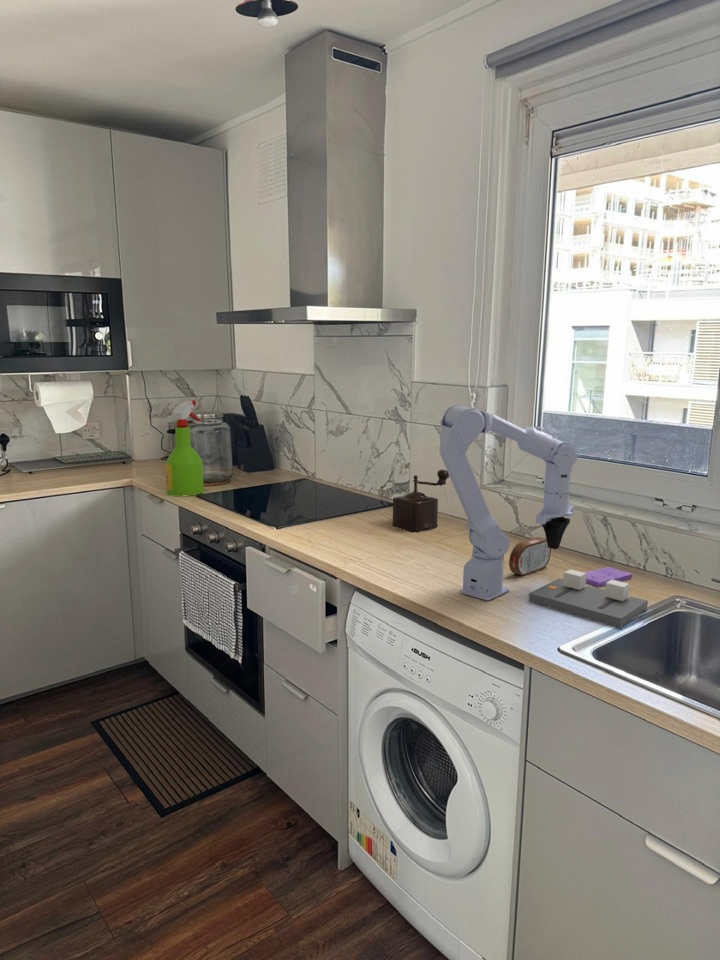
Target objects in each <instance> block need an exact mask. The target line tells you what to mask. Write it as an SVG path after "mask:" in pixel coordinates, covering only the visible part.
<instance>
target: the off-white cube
mask: <svg viewBox="0 0 720 960" xmlns="http://www.w3.org/2000/svg"><path fill="white" fill-rule="evenodd" d="M562 579H563V586H566V587H570V588H574V589H578V590H580V589H582V588H584V587H585V586H586V585H587V583H586V573H584V572H582V571H578V570H575V569H568V570H566V571H564V572H563V578H562Z"/></svg>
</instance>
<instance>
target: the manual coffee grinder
mask: <svg viewBox="0 0 720 960" xmlns="http://www.w3.org/2000/svg"><path fill="white" fill-rule="evenodd" d="M436 475H437V477H438V480H437V481H436V482H429V481H419V480H418V479H419V476H418V475H416V474H415V475H413V481H412V482H413V484H414V485H413V486H414V487H413V491H411V492H408V493H406V495H402V496H396V497H395V496H394V497H393V499H392V527H394V526H395V527H394V528H396V527H398V528H397V529H400V528H401V529H400V530H403V529H405V530H404V531H407V530H408V531H407V532H410V531H411V532H410V533H414V532H416V533H419V532H420V531H421V532H425V530H426V531H430V530H432V529H435V528H437V527H438V526H439V525H438V513H439V512H438V508H439V499H438V498H436V497H432V496H428V495H426V494H425V493H423V492H422V491H421V492H420V491H418V484H419V485H429V486H435V487H436V486H440V487H441V486H443V485H447V482H446V481H447V480H448V479H449V478H450V476H449V474H448V471H447V469H446V470H445V469H439V470H438V471H437V473H436ZM421 532H420V533H421Z"/></svg>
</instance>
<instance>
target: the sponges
mask: <svg viewBox="0 0 720 960" xmlns="http://www.w3.org/2000/svg"><path fill="white" fill-rule="evenodd" d="M583 573H586V584H588V585H590V586H593V587H596V588H602V587H604V586H605V587H606V582H608V581H610V580H616V581H620V582H624V581H628V580H631V579H632V578H633V573H631V572H627V571H623V570H620V569H617V568H614V567H610V566H607V567H603V568H600V569H594V570H591V571H585V572H583Z"/></svg>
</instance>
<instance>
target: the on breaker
mask: <svg viewBox="0 0 720 960" xmlns="http://www.w3.org/2000/svg"><path fill="white" fill-rule="evenodd" d="M604 590H605V597H608V598H612V599H616V600H620V601H624V600H625V599H627V598H628V596H630V594H629V593H630V583H628V582H624V581H621V582H620V581H616V580H610V581H608V582H606V586H605V589H604Z"/></svg>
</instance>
